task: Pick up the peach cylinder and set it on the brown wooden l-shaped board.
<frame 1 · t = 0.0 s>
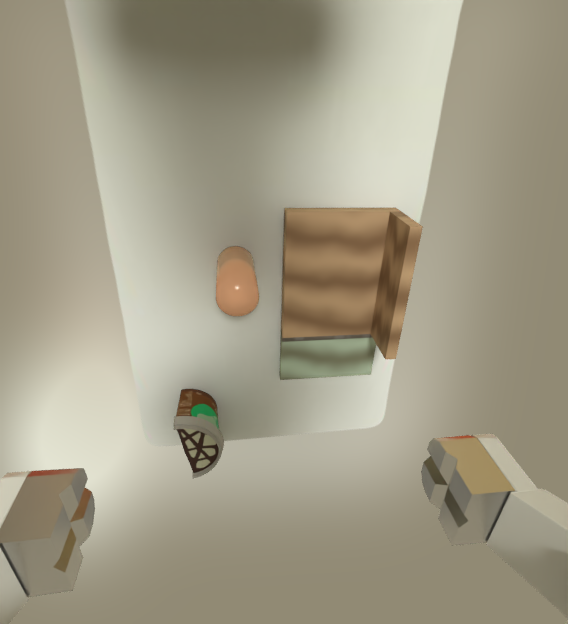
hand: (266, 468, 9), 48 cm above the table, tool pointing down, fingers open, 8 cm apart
food container: (205, 405, 71), on the table
brown wooden l-shaped board: (334, 273, 61), on the table
peach cylinder: (235, 263, 58), on the table
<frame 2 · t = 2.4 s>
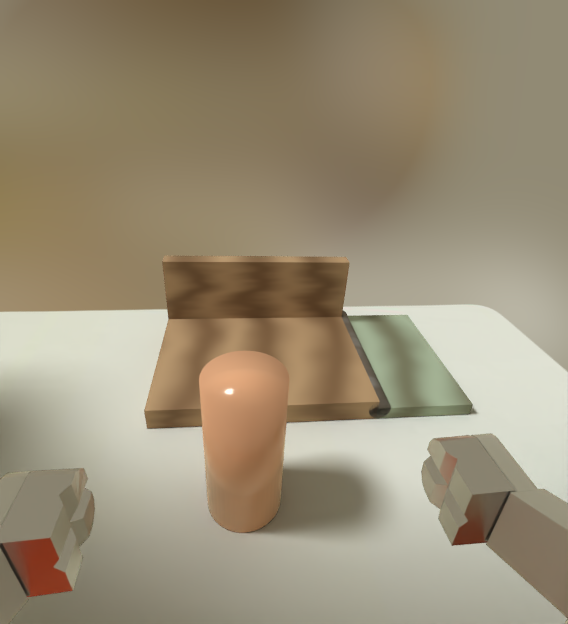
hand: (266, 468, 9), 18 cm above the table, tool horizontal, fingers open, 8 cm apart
brown wooden l-shaped board: (260, 366, 42), on the table
peach cylinder: (244, 497, 29), on the table
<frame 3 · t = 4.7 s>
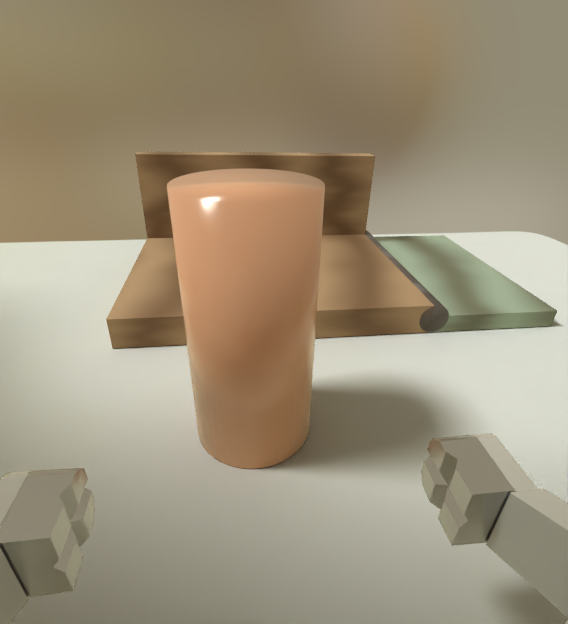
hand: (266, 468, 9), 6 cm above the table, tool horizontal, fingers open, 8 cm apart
brown wooden l-shaped board: (266, 285, 32), on the table
peach cylinder: (254, 422, 19), on the table
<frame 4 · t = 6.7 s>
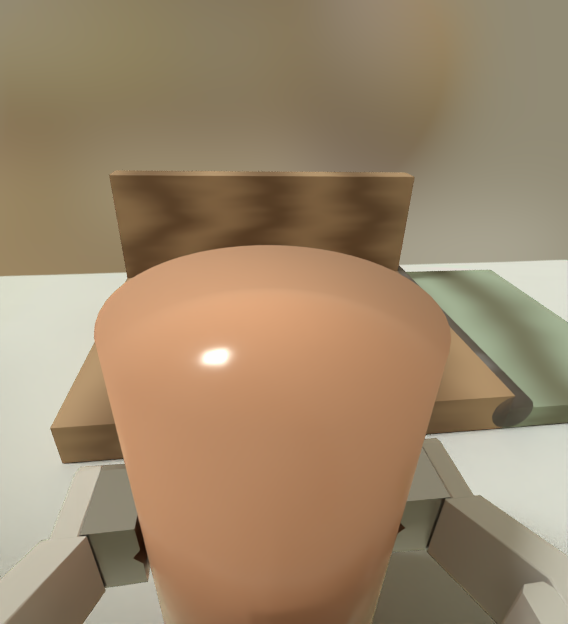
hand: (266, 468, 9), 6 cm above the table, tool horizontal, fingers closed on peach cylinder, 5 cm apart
brown wooden l-shaped board: (277, 345, 25), on the table
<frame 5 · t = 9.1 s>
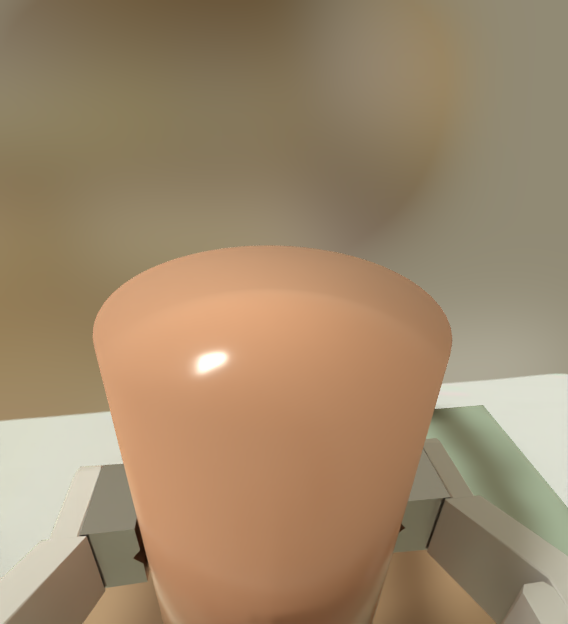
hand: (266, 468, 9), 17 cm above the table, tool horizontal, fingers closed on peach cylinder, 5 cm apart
brown wooden l-shaped board: (276, 527, 26), on the table
when the fingers open (9 cm above the table, at t = 11.5 s): peach cylinder drops 1 cm, resting on brown wooden l-shaped board.
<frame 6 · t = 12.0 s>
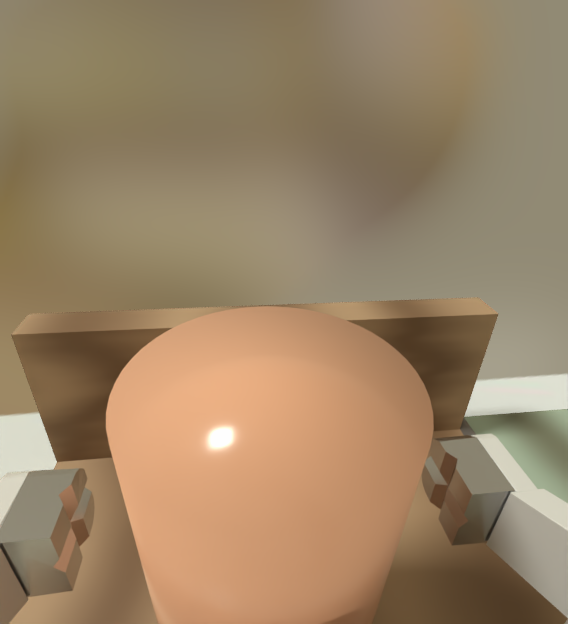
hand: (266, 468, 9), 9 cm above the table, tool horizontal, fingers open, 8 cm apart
brown wooden l-shaped board: (287, 611, 15), on the table
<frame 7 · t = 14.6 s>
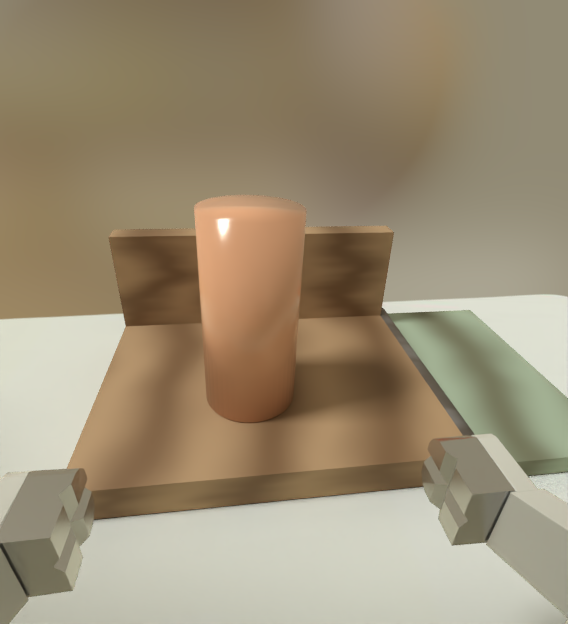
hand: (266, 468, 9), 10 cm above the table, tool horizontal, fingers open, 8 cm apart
brown wooden l-shaped board: (265, 394, 27), on the table
peach cylinder: (250, 391, 24), point 2 cm above the table, touching brown wooden l-shaped board
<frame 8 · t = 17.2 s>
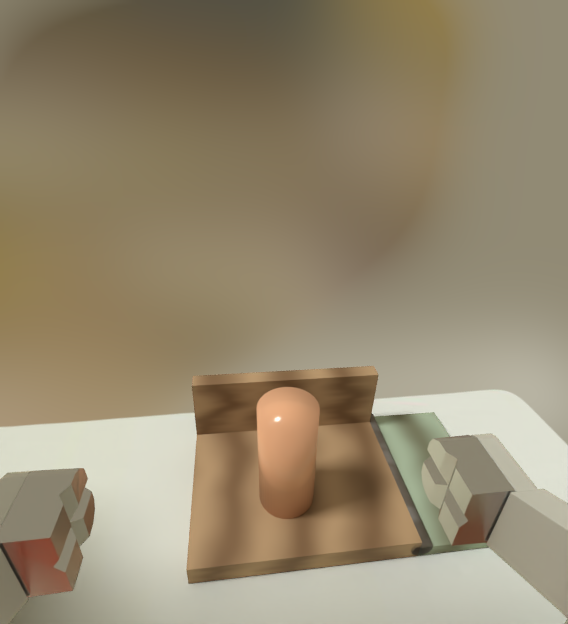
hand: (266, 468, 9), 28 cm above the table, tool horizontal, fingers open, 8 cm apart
brown wooden l-shaped board: (293, 488, 41), on the table
peach cylinder: (286, 493, 38), point 2 cm above the table, touching brown wooden l-shaped board
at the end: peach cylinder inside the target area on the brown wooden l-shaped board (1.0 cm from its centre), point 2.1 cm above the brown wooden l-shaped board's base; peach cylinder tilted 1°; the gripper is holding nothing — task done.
